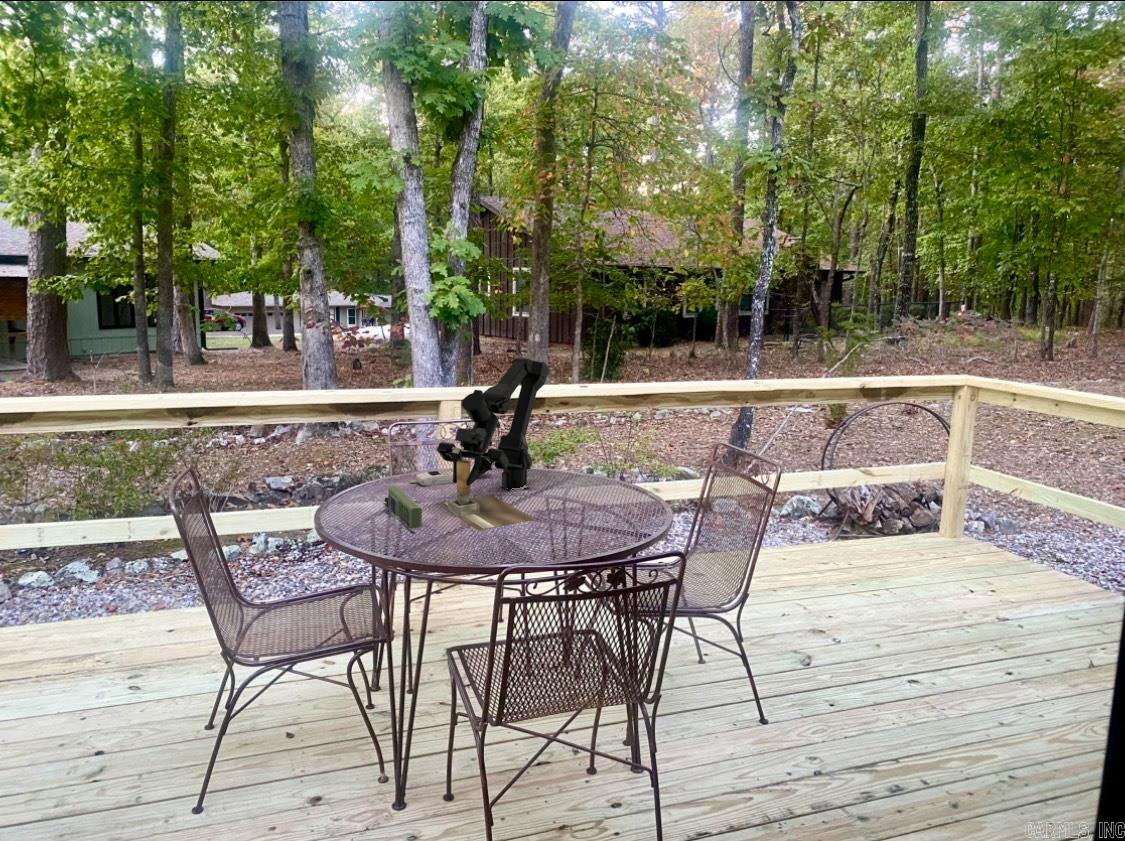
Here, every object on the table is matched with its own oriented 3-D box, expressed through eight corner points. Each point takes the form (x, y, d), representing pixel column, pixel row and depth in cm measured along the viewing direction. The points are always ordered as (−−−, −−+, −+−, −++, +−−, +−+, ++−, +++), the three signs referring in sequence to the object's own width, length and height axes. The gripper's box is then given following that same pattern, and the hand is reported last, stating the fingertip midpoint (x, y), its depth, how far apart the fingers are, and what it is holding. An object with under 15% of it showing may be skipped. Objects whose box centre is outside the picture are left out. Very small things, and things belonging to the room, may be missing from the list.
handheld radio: (409, 535, 175) (380, 504, 196) (422, 533, 177) (392, 503, 198) (410, 508, 174) (380, 480, 195) (423, 507, 176) (392, 479, 197)
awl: (469, 504, 189) (469, 460, 187) (471, 509, 186) (471, 463, 184) (456, 505, 188) (455, 460, 186) (457, 510, 185) (457, 464, 183)
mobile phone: (494, 459, 222) (415, 468, 210) (494, 478, 223) (415, 488, 211) (486, 455, 227) (408, 464, 215) (486, 474, 228) (409, 483, 216)
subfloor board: (491, 499, 202) (491, 486, 201) (535, 524, 184) (535, 509, 183) (438, 509, 193) (438, 494, 193) (478, 536, 175) (478, 520, 174)
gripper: (439, 411, 189) (416, 462, 182) (504, 419, 182) (482, 472, 175) (455, 435, 198) (434, 484, 191) (517, 443, 191) (497, 495, 183)
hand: (460, 483), depth 185 cm, fingers open, 4 cm apart
